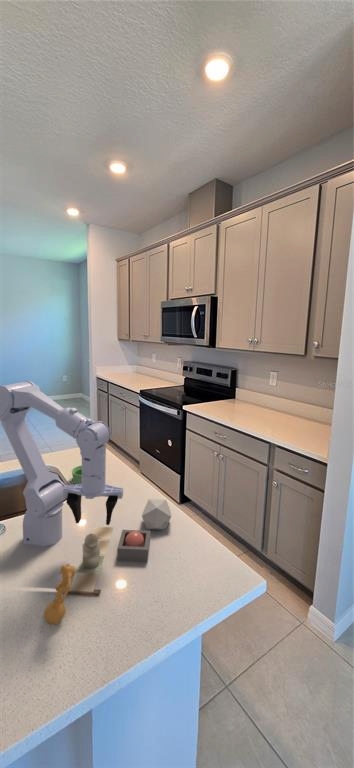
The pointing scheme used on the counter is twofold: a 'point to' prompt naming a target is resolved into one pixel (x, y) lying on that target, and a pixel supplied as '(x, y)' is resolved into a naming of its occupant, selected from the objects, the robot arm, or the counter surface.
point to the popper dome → (134, 539)
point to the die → (156, 514)
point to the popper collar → (133, 548)
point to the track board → (87, 581)
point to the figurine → (59, 596)
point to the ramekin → (77, 474)
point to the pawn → (91, 551)
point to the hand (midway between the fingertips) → (93, 521)
